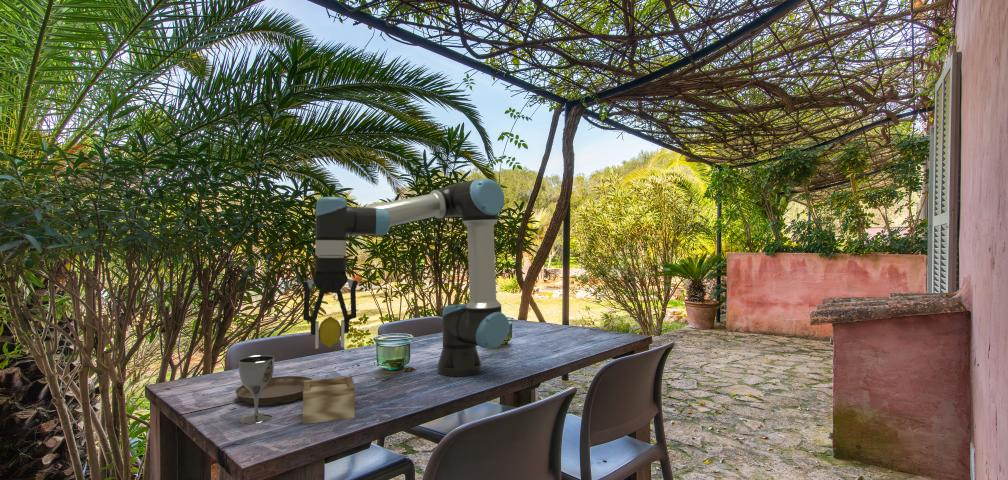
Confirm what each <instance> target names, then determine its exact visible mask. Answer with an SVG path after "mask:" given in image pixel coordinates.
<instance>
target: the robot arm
mask: <svg viewBox="0 0 1008 480" xmlns="http://www.w3.org/2000/svg"><path fill="white" fill-rule="evenodd" d="M347 202H348V200H347V198H344V197H339V196H323V197H319V198H318V199H317V200H316V205H315V214H314V215H315V250H314V251H315V256H317V257H316V258H315V259H314V262H315V263H314V265H315V266H314V276H313V277H312V279H309V280H304V281H302V287H303V289H304V297H303V298H304V299H303V315H302V318H303V321H305V322H306V321H308V322H309V323H310V335H311V336H315V339H314V346H315V347H314V348H315V349H319V341H320V339H319V327H320V321H317V317H318V314H319V311H320V308H321V306H322V302H323V299H324V295H325V294H329V293H330V294H331V293H332V294H336V296H337V300H338V302H339V306H340V309H341V313H342V316H343V319H342V320H340V326H341V336H340V347H341V348H344V347H345V334H348V333H349V332H350V321H351V320H353V319H355V318H357V296H356V293H357V292H356V291H357V290H356V289H357V287H358V283H359V282H358V280H357V279H351V278H348V275H347V259H346V258H345V256H347V237H350V236H376V237H377V236H384V235H386V234H387V233H388V232H389V231H390V228H391V227H394V226H398V225H403V224H407V223H411V222H416V221H420V220H421V221H422V220H425V219H430V218H434V217H435V218H436V219H444V218H450V217H454V218H455V217H456V218H457V217H461V222H462V223H463V224H464V225H465V227H466V231H467V232H466V233H467V254H468V255H467V257H468V258H467V259H468V260H467V261H468V278H469V279H468V280H469V281H468V282H469V283H468V284H469V287H468V288H469V302H467V303H463V304H452V305H450V304H449V305H445V306H444V307H443V310H442V317H441V319H442V350H441V353H440V356H439V360H438V362H437V373H438V374H440V375H443V376H446V377H447V376H448V377H465V376H466V377H467V376H473V375H478V374H479V373H481V372H482V363H481V362H482V361H481V358H480V356H479V352H478V349H477V347H480V348H482V349H483V348H484V349H485V348H486V349H494V348H498V347H499V346H501V345H502V344H503V343H504V342H505V340H506V339H507V337H508V335H509V332H510V322H509V319H508V317H507V316H506V314H504V313H503V312H502V303H501V302H500V301H498V299H497V285H496V283H497V282H496V258H495V256H496V255H495V251H496V250H495V232H494V231H495V230H494V228H495V227H494V226H495V224H497V222H498V221H499V213H500V212H501V211H502V210H503V208H504V206H505V194H504V191H503V188H502V187H501V186H500V185H499V184H498V183H497V182H496V181H495V180H493V179H490V178H477V179H471V180H467V181H462V182H461V181H460V182H457V183H453V184H451V185H449V186H448V185H447V186H445V187H442V188H438V189H433V190H432V191H430V193H429V194H424V195H419V196H418V195H417V196H413V197H409V198H402V199H398V200H392V201H387V202H381V203H377V204H371V205H365V206H350V205H348V203H347ZM313 284H314V285H315V286H316V287H317V289H318V290H319V291H318V295H317V298H316V302H315V304H314V309H313V311H312V314H311V315H309V313H310V298H311V296H310V295H311V289H312V288H313ZM346 284H348V285H347V286H348V287H349V289H350V290H349V293H350V294H349V295H350V314H349V313H348V309H347V306H346V303H345V300H344V296H343V293H342V292H343V291H342V289H343V287H344V286H345V285H346Z"/></svg>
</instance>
